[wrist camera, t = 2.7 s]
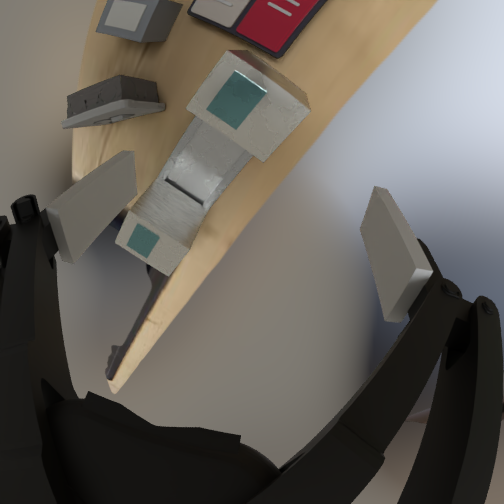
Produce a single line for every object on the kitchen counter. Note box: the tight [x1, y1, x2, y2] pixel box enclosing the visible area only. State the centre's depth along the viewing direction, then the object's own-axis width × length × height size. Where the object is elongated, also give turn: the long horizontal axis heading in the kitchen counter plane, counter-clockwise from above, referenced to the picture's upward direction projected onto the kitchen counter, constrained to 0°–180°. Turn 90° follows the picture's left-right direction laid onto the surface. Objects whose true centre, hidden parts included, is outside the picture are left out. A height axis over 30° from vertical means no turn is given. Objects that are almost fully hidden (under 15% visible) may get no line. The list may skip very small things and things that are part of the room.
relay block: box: [96, 0, 183, 43], centre depth 19 cm, size 6×5×6 cm
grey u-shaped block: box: [115, 50, 311, 276], centre depth 29 cm, size 8×25×10 cm, turn 143°
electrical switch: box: [62, 75, 165, 129], centre depth 25 cm, size 9×5×9 cm, turn 96°
